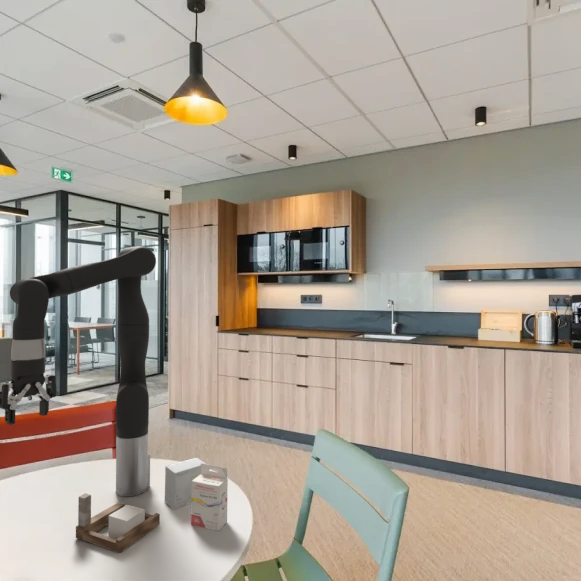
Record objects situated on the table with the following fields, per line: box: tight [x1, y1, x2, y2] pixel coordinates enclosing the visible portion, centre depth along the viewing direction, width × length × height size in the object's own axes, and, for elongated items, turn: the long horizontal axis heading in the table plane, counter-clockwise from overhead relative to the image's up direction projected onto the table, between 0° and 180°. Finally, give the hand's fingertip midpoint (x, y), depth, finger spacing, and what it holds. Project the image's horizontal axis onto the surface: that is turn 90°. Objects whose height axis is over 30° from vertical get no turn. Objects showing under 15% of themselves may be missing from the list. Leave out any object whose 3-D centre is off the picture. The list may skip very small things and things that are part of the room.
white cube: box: [107, 504, 146, 539], centre depth 106 cm, size 6×6×6 cm
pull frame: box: [75, 492, 161, 554], centre depth 108 cm, size 13×15×10 cm
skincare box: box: [164, 457, 207, 510], centre depth 125 cm, size 10×6×10 cm, turn 132°
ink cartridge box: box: [190, 463, 229, 532], centre depth 112 cm, size 9×5×15 cm, turn 71°
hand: (27, 419), depth 109 cm, fingers open, 8 cm apart
